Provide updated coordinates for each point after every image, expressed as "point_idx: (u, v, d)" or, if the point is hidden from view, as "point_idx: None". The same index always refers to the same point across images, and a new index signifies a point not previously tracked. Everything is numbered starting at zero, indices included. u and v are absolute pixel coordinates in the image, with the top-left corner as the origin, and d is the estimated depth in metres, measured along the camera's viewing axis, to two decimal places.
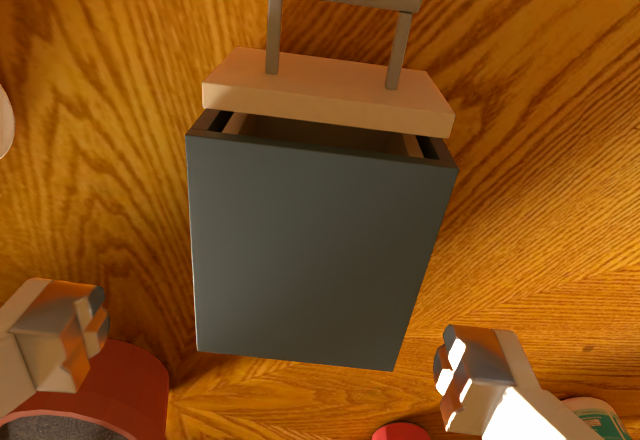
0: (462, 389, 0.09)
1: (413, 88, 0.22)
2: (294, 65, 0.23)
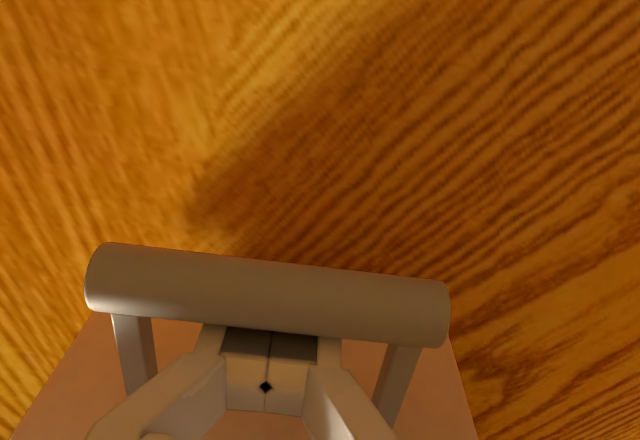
0: (267, 369, 0.09)
1: (422, 412, 0.12)
2: None
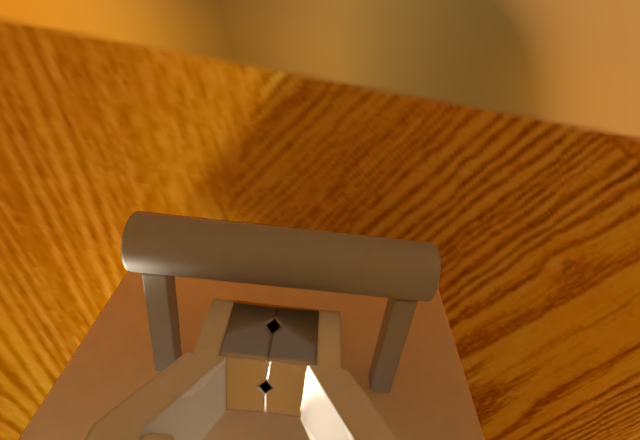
0: (267, 369, 0.09)
1: (420, 372, 0.13)
2: None
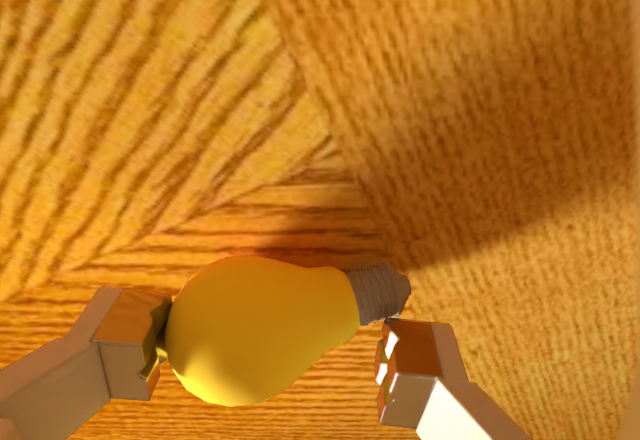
0: (391, 382, 0.09)
1: None
2: None
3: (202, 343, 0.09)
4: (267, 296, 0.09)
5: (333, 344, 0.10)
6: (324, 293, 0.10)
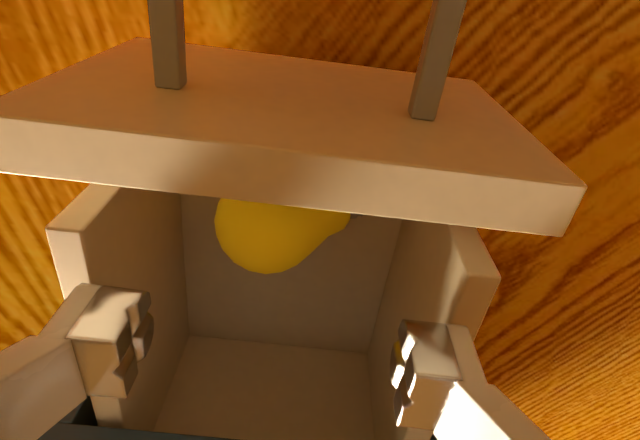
0: (409, 384, 0.09)
1: (467, 116, 0.11)
2: (230, 70, 0.12)
3: (243, 217, 0.13)
4: None
5: (331, 226, 0.14)
6: None
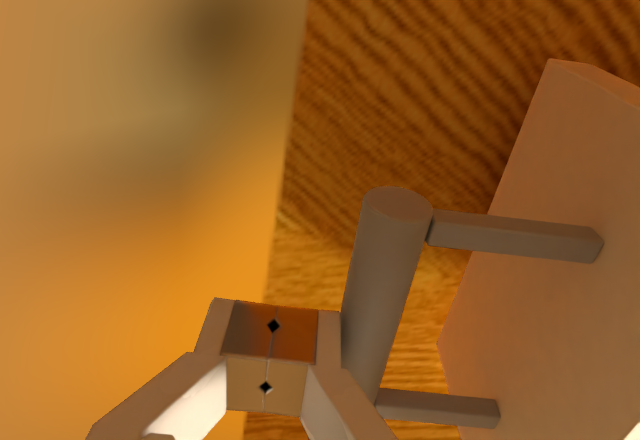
0: (266, 369, 0.09)
1: (608, 178, 0.09)
2: (484, 335, 0.13)
3: None
4: None
5: None
6: None
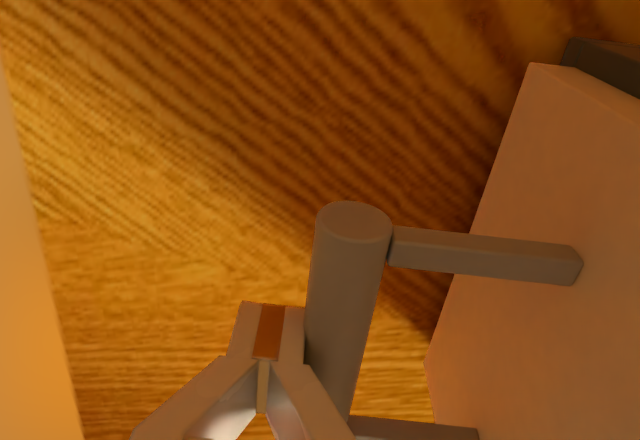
0: None
1: (588, 191, 0.08)
2: (467, 357, 0.12)
3: None
4: None
5: None
6: None
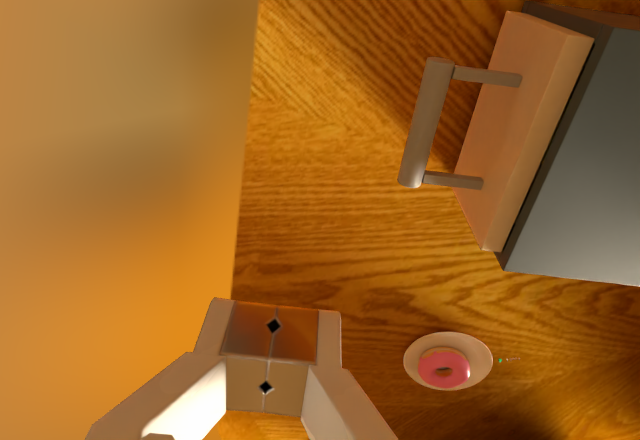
0: (267, 369, 0.09)
1: (524, 52, 0.22)
2: (476, 154, 0.26)
3: None
4: None
5: None
6: None
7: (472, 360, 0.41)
